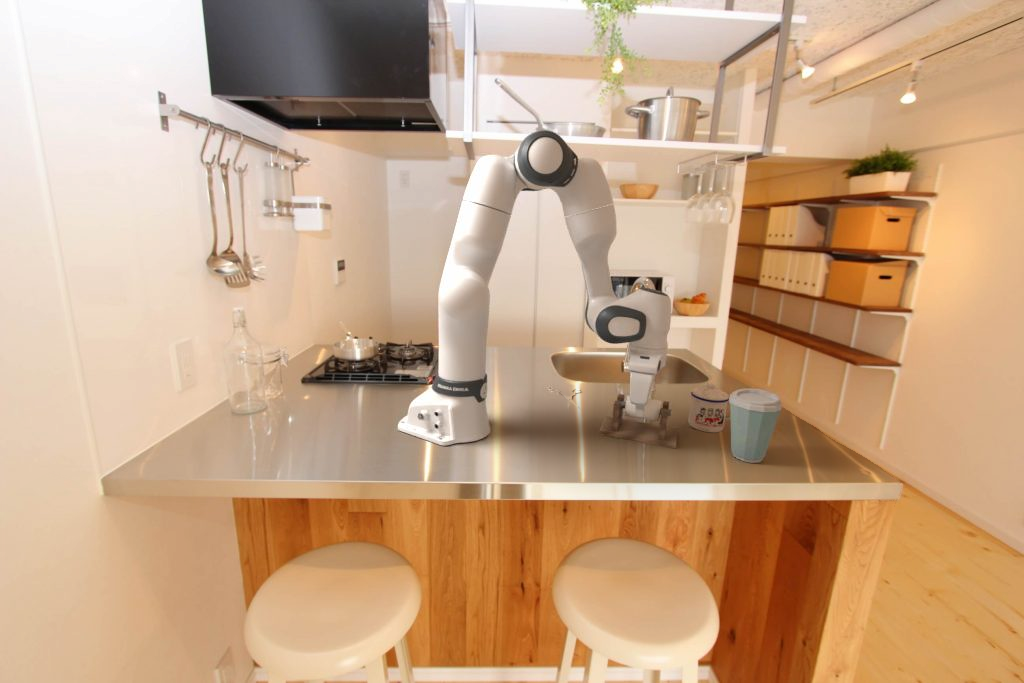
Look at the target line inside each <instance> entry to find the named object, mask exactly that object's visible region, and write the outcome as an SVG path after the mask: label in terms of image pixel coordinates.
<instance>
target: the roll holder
mask: <svg viewBox="0 0 1024 683" xmlns="http://www.w3.org/2000/svg"><path fill="white" fill-rule="evenodd" d="M621 401H622V402H625V394H622V393H621V394H620V393H618V395H617V397H616V400H615V401H614V402H613V409H612V416H609V415H606V416H605V418H604V419H603V422H602V423H601V426H600V428H599V430H598V435H601V434H604V435H603V436H606V435H608V437H612V436H614V437H613V438H617V437H618V438H617V439H622V438H624V440H629V441H634V442H639V443H644V444H648V445H649V444H650V445H654V446H659V447H665V448H672V449H675V448H677V443H678V442H677V441H678V434H679V428H676V427H671V426H667V425H668V417H669V416H667V414H668V409H670V401H666V400H663V401H662V406H661V408H662V410H661V415H660V418H659V424H652V423H649V422H648V423H647V422H644V421H636V420H631V419H630V420H629V419H624V418H623V412H624V408H621Z"/></svg>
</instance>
